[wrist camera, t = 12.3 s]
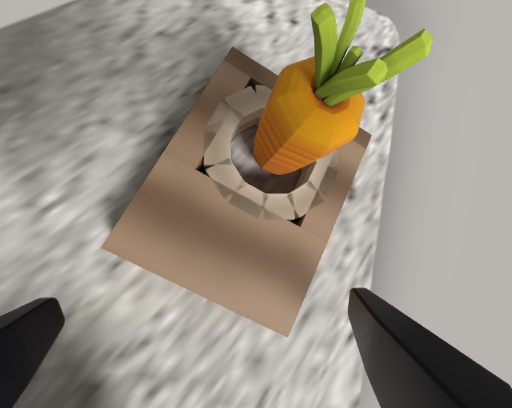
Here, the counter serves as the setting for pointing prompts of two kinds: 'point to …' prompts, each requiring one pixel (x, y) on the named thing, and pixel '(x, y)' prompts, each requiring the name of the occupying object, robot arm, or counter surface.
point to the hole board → (234, 207)
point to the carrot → (325, 93)
